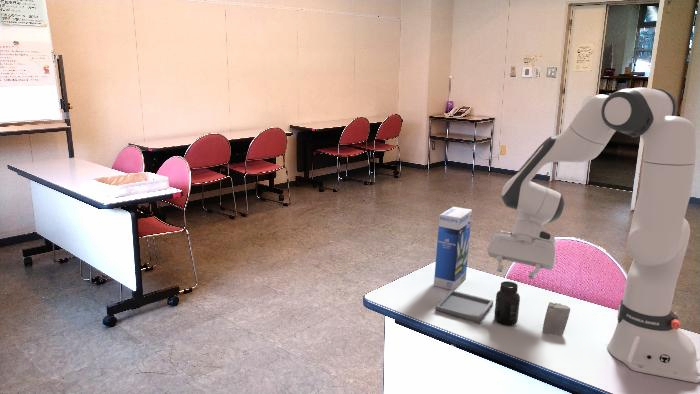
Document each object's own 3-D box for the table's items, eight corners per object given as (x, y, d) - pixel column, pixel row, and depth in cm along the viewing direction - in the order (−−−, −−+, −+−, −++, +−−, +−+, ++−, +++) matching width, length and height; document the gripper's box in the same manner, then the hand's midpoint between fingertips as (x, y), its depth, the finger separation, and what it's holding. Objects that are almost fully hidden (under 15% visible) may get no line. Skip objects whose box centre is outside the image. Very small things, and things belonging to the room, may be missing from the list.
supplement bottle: (514, 316, 160) (519, 280, 157) (519, 327, 154) (524, 290, 151) (491, 315, 161) (495, 278, 158) (495, 325, 154) (499, 288, 151)
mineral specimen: (575, 334, 150) (573, 309, 148) (544, 338, 151) (542, 313, 148) (566, 320, 157) (564, 296, 155) (536, 324, 158) (534, 301, 156)
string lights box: (453, 291, 177) (459, 218, 170) (432, 285, 180) (437, 214, 174) (466, 278, 188) (473, 209, 181) (446, 273, 191) (452, 205, 185)
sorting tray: (492, 305, 167) (493, 300, 167) (479, 323, 155) (480, 318, 155) (450, 295, 174) (451, 290, 173) (435, 311, 162) (435, 306, 161)
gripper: (492, 224, 168) (480, 262, 162) (559, 237, 158) (549, 278, 152) (494, 234, 173) (483, 271, 167) (560, 246, 163) (550, 286, 157)
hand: (515, 274), depth 160 cm, fingers open, 8 cm apart
